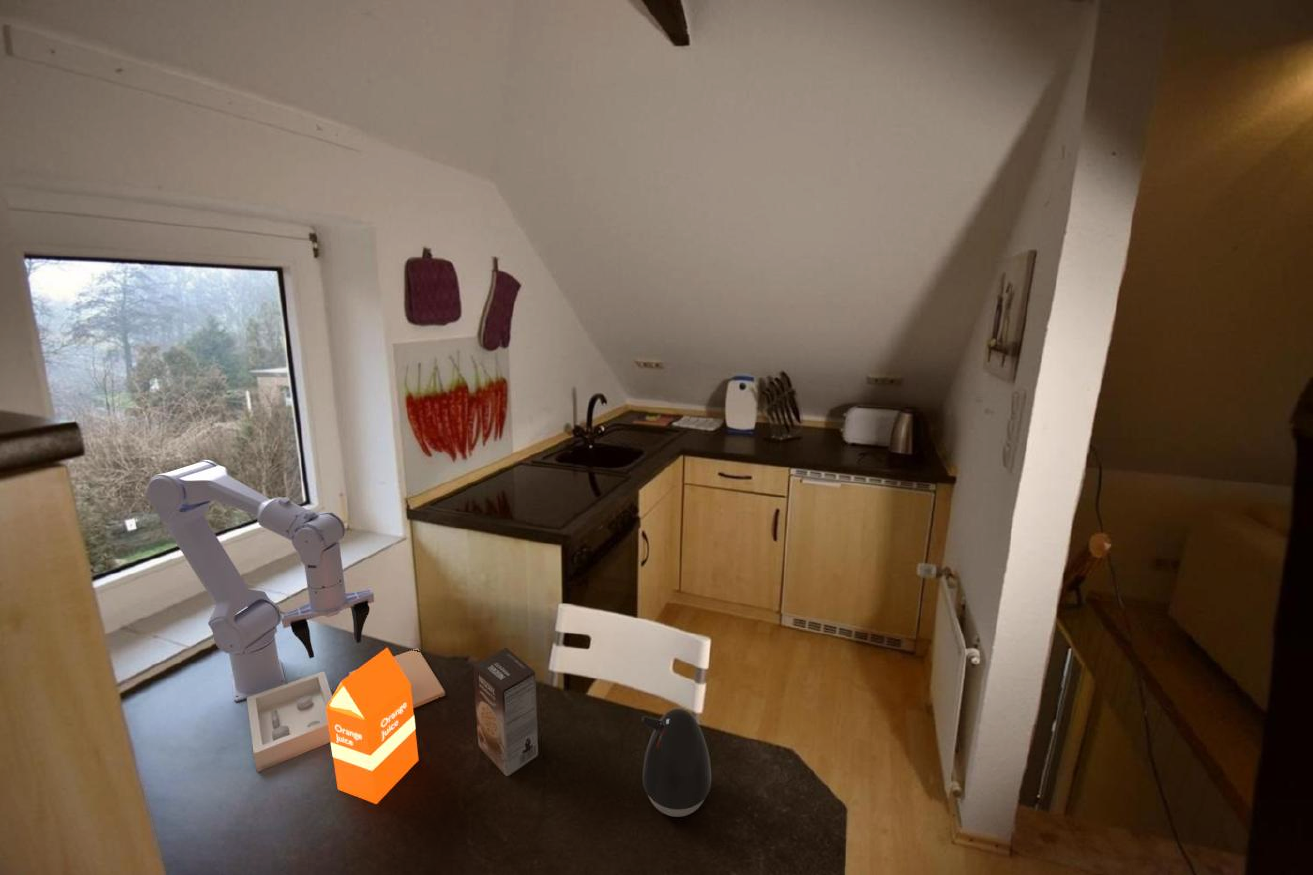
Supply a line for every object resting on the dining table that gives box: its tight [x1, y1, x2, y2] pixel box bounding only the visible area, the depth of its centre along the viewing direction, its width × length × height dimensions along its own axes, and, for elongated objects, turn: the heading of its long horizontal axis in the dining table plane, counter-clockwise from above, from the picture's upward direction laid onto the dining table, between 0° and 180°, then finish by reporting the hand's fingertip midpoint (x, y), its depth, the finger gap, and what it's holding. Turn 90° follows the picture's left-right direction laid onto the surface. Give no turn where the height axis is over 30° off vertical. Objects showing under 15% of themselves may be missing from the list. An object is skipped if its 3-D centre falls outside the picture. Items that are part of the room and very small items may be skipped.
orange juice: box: [326, 646, 419, 805], centre depth 86 cm, size 8×9×20 cm
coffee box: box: [472, 647, 539, 777], centre depth 91 cm, size 9×6×16 cm
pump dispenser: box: [641, 707, 712, 818], centre depth 83 cm, size 10×10×15 cm
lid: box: [348, 648, 446, 709], centre depth 107 cm, size 17×13×5 cm
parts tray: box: [246, 670, 333, 773], centre depth 97 cm, size 16×12×4 cm
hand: (335, 647), depth 104 cm, fingers open, 7 cm apart
